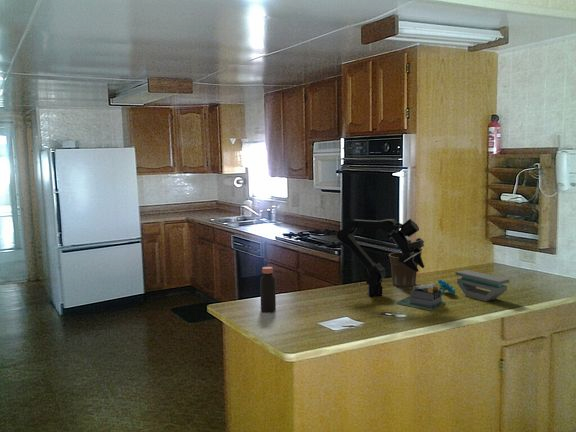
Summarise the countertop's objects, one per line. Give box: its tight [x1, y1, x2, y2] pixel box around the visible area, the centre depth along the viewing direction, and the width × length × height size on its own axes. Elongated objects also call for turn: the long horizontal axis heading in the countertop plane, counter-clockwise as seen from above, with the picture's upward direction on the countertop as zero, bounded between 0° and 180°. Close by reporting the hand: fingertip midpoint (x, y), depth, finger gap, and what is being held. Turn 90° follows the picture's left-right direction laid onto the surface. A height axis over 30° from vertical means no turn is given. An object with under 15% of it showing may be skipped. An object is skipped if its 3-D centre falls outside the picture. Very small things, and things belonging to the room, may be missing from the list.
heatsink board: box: [396, 283, 446, 311], centre depth 251 cm, size 18×14×9 cm
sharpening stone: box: [455, 269, 510, 302], centre depth 260 cm, size 25×8×11 cm, turn 32°
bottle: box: [259, 266, 277, 313], centre depth 243 cm, size 7×7×20 cm
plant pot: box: [388, 251, 419, 288], centre depth 287 cm, size 16×16×16 cm
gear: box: [437, 278, 456, 296], centre depth 268 cm, size 11×6×10 cm
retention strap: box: [415, 283, 437, 289], centre depth 249 cm, size 10×3×1 cm, turn 50°
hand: (420, 269), depth 254 cm, fingers open, 9 cm apart
